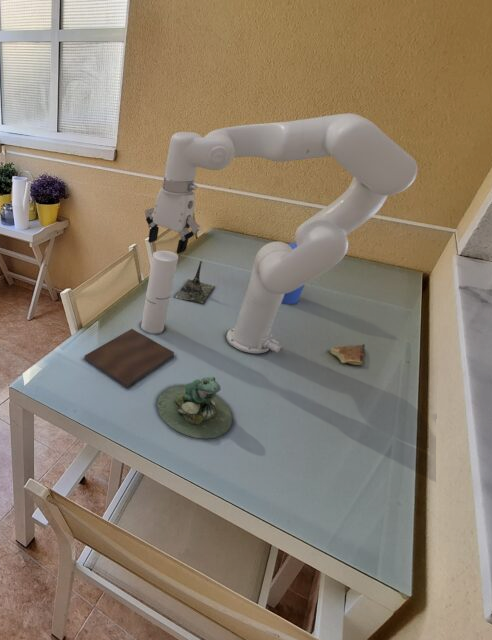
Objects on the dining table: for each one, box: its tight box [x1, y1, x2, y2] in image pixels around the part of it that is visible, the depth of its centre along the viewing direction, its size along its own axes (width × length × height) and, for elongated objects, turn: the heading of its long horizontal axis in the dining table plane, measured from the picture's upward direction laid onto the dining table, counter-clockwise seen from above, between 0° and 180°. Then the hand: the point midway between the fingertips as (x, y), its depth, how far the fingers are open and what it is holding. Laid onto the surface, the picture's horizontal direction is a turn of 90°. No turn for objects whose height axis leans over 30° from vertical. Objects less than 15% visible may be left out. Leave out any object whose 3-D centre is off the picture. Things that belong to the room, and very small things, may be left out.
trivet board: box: [84, 328, 175, 389], centre depth 122 cm, size 16×21×2 cm
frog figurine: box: [157, 375, 233, 440], centre depth 101 cm, size 18×18×12 cm
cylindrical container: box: [140, 250, 179, 334], centre depth 127 cm, size 7×7×25 cm
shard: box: [330, 344, 366, 366], centre depth 121 cm, size 11×8×2 cm
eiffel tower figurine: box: [174, 258, 215, 304], centre depth 149 cm, size 15×10×13 cm
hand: (166, 246), depth 118 cm, fingers open, 9 cm apart
